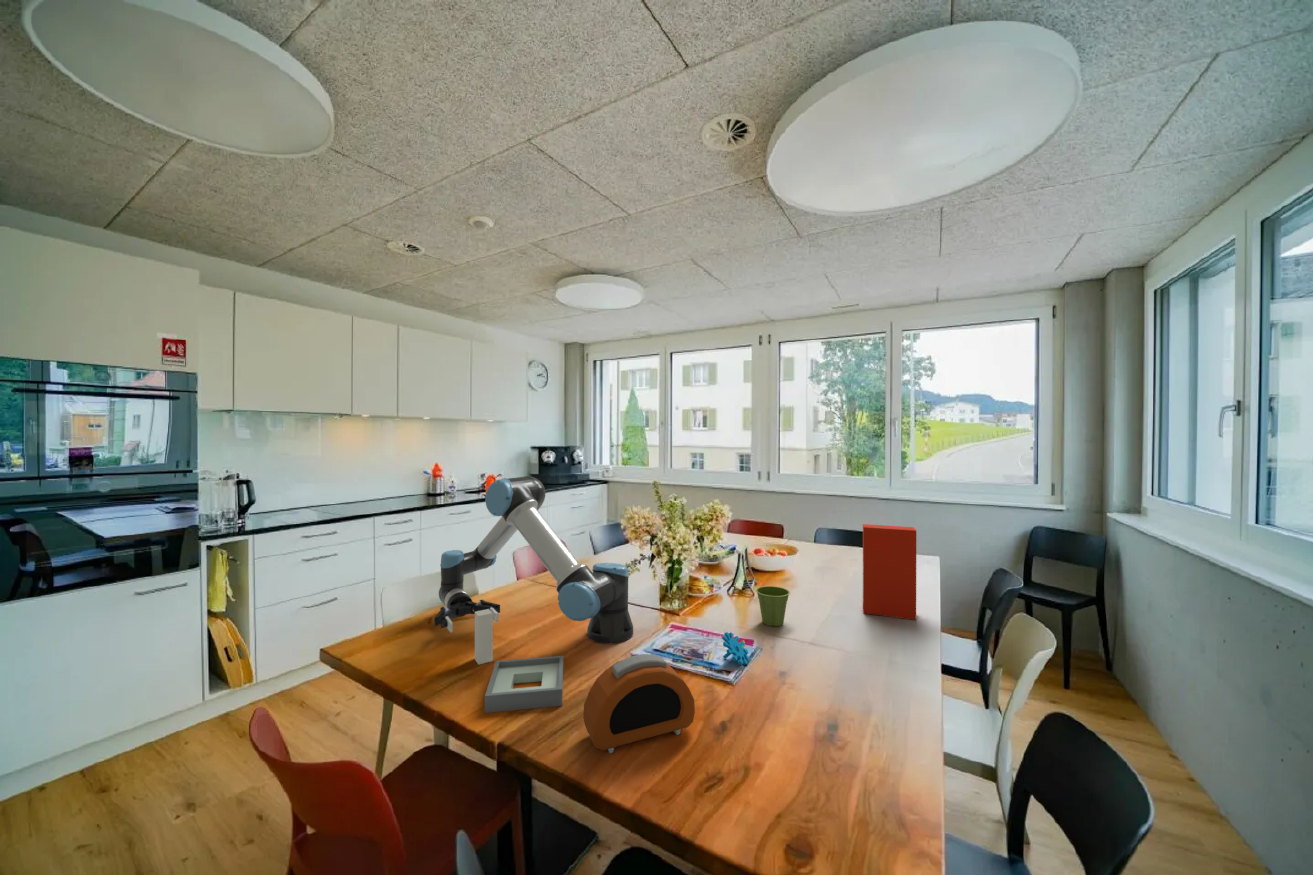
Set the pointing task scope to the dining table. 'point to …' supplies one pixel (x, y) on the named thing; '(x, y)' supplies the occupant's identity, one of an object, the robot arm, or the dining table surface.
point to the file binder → (889, 571)
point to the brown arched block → (637, 702)
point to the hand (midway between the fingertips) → (474, 622)
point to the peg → (483, 636)
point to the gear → (735, 648)
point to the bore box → (523, 671)
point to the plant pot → (772, 604)
